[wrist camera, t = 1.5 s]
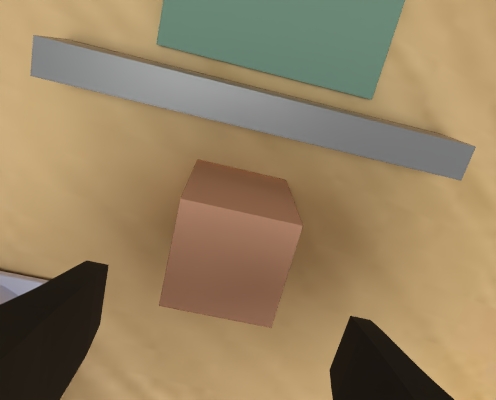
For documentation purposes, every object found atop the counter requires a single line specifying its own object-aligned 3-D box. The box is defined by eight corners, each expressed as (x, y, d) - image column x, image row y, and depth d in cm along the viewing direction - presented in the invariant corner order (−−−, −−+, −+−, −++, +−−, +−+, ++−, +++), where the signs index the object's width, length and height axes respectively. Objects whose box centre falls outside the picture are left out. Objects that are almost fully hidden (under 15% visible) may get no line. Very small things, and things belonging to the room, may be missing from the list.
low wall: (430, 163, 20) (461, 180, 17) (62, 73, 19) (30, 75, 16) (442, 134, 20) (475, 146, 17) (66, 39, 18) (33, 35, 15)
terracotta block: (263, 258, 22) (271, 327, 16) (180, 240, 21) (158, 305, 16) (285, 179, 20) (302, 225, 15) (197, 159, 20) (180, 198, 14)
